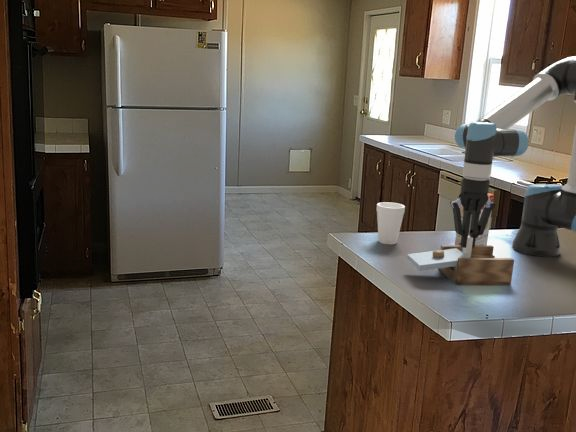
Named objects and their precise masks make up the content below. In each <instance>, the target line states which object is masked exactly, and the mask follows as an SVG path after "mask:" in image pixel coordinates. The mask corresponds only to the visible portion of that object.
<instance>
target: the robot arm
mask: <svg viewBox="0 0 576 432" xmlns="http://www.w3.org/2000/svg"><path fill="white" fill-rule="evenodd" d="M564 95H574V96H573V97H574V99H573V102H574V103H575V104H576V55H574V56H568V57H566V58H563V59H560V60H558V61H556V62H554V63H552V64H550V65H549V66H547V67H545V68H544V69H542V70H541V71H540V72H538V73H536V74H535V75H534V76H533V79H532V81H531V82H530V83H528V84H526V86H524V87H522V88H521V89H520V90H518V91H517V92H516V93H514V94H513V95H511V96H510V97H509V98H507V99H506V100H504V101H503V102H501V103H500V104H499V105H497V106H496V107H495V108H493V109H492V110H491V111H489V112H487V113H486V114H485V115H484V116H481V118H479V119H478V120H477V121H472V122H470V123H464V124H461V125H460V126H458V127H457V129H456V130H455V134H454V141H455V143H456V145H457V146H458V147H460V148H462V149H465V151H464V159H463V168H462V175H463V177H462V178H461V185H460V193H459V195H458V198H457V199H456V200H451V201H450V202H449V204H450V207H451V208H452V214H453V222H454V231H455V233H458V234H459V235H461V244H460V245H461V247H463V250H462V253H464V254H465V255H467V256H468V257H469V258H471V251H472V248H474V247H475V241H476V238H478V236H479V235H483V233H484V230H485V227H486V224H487V222H488V219H489V216H490V214H491V215H492V213H491V211H493V210H494V209H495V208H496V203H494V201H493V202H491V201H490V200H488V199H489V197H488V193H489V190H490V178H491V174H492V168H493V167H492V166H493V160H494V159H493V158H494V157H495V158H496V157H511V158H513V157H518V156H521V155H523V154H525V153H526V152H527V150H528V149H529V142H530V141H529V137H528V135H527V133H526V132H525V131H523V130H519V129H510V128H511V127H513V126H514V125H515V124H517V123H519V122H520V121H521V120H522V119H524V118H525V117H526V116H527V115H529V114H530V113H532V112H534V111H535V110H536V109H538V108H539V107H540V106H542V105H543V104H544V103H545V102H547V101H553V100H555V99H556V98H558V97H560V96H564ZM574 128H575V130H574V133H573V134H574V136H573V142H572V149H571V155H570V162H569V170H568V177H567V182H566V184H564V185H563V184H553V183H552V184H549V183H546V184H545V183H540V184H539V183H538V184H530V185H528V186H527V187H526V190H525V194H524V199H523V200H524V201H523V208H522V216H521V221H520V222H521V223H520V227H519V229H518V231H517V233H516V234H515V237H514V239H513V240H512V245H511V246H512V249H513V250H515V251H517V252H518V253H519V252H520V253H522V254H527V255H529V256H536V257H546V258H547V257H550V258H551V257H556V256H559V255H560V253H561V244H560V240H559V234H558V228H562V229H566V230H568V231H572V232H573V233H576V126H575V127H574ZM460 203H461V204H462V206H463V212H464V213H463V221H461V212H460ZM484 205H485V207H484V209H483V212H482V215H481V217H480V220H479V216H480V214H481V208H482V207H483V206H484ZM471 214H472V216H471ZM470 220H471V225H470ZM469 227H470V233H469ZM469 234H470V236H469Z"/></svg>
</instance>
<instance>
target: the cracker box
mask: <svg viewBox="0 0 576 432" xmlns="http://www.w3.org/2000/svg"><path fill="white" fill-rule="evenodd" d="M488 197H489V199H488V200H490V201H491V202H493V203H494V199H495V194H494V193H489V192H488ZM484 207H485V205H484V206H483V207H482V208H481V214H480V216H479V220H480V217H481V215H482V212H483V209H484ZM459 208H460V212H461V221H463V213H464V212H463V206H462V204H461V203H460V207H459ZM492 211H493V210H492ZM492 211H491V214H490V216H489V219H488V222H487V224H486V227H485V230H484V233H483V235H479V236H478V238H476V241H475V245H485V246H488V238H489V233H490V226H491V218H492ZM471 216H472V214H471ZM470 225H471V220H470ZM455 233H456V232H455ZM469 233H470V227H469ZM469 236H470V234H469ZM460 244H461V235H459V234H458V233H456V234H455V240H454V245H460Z"/></svg>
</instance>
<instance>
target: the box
mask: <svg viewBox="0 0 576 432" xmlns="http://www.w3.org/2000/svg"><path fill="white" fill-rule="evenodd" d="M452 248H457V249H458V250H460V251H461V252H462V250H463V247H461V245H455V244H453V245H452V244H440V250H444V249H452ZM493 254H494V246H493V245H487V246H485V245H475V247H474V248H472V251H471V258H458V263H457V266H453V267H445V268H438V269H437V270H439V271H440V272H441V271H442V272H443V273H442V272H441V273H442V274H444V275H445V276H446V277H447V278H448V279H450V280H451V281H452V282H453V283H454V284H455V285H457V286H511V285H512V278H513V271H514V266H515V265H514V264H515V259H514V258H511V257H496V256H495V255H493Z"/></svg>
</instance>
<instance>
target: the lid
mask: <svg viewBox="0 0 576 432" xmlns="http://www.w3.org/2000/svg"><path fill="white" fill-rule="evenodd" d="M406 257H407V260H408V261H409V262H410V263H411V265H413V266H414V267H415V268H416V269H418V271H420V272H421V271H429V270H436V269H437V270H439V269H438V268H445V267H453V266H457V263H458V258H469V257H468V256H467V255H465V254H464V253H462V252H461V251H460V250H458V249H457V248H452V249H444V250H441V249H435V250H430V251H423V252H414V253H408V254H407V256H406Z"/></svg>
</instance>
